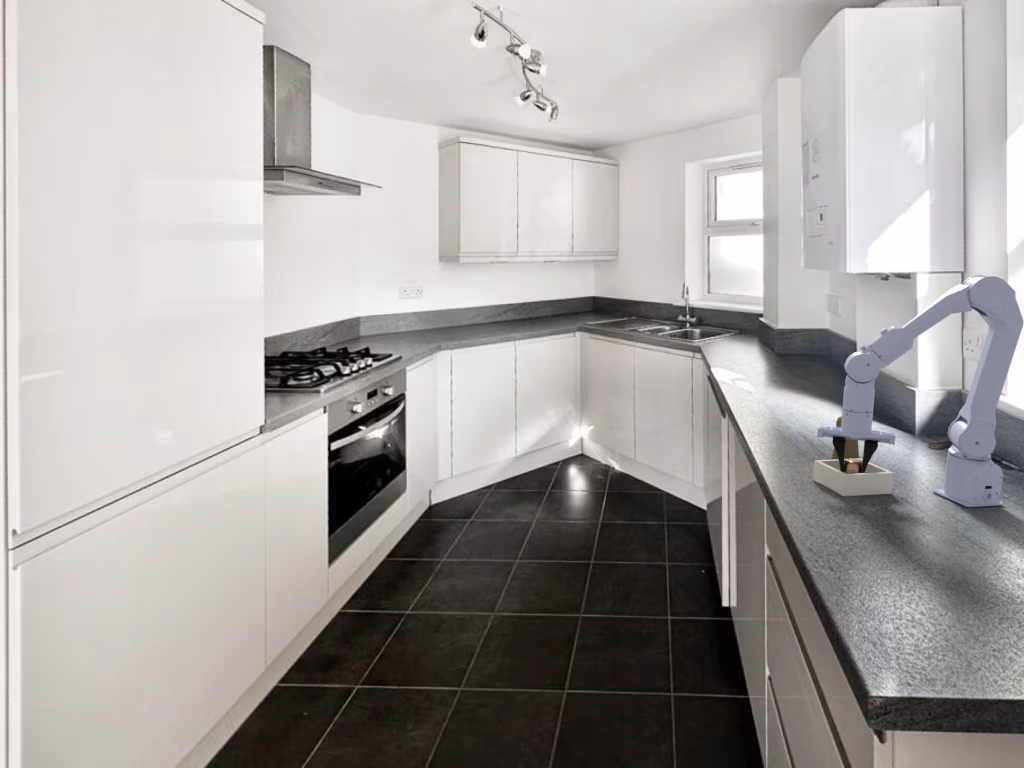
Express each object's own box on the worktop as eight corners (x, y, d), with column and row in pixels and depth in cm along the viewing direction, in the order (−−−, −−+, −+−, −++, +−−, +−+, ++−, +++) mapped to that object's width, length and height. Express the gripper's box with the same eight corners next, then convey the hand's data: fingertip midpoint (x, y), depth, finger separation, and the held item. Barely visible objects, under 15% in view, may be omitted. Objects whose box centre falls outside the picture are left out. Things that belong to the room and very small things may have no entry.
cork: (835, 456, 170) (838, 412, 168) (862, 461, 167) (866, 416, 165) (828, 462, 166) (831, 417, 164) (855, 467, 162) (859, 420, 160)
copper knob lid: (885, 490, 144) (887, 466, 143) (844, 492, 143) (846, 468, 142) (857, 476, 153) (859, 454, 152) (818, 478, 152) (820, 456, 151)
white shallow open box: (891, 493, 144) (893, 472, 143) (843, 496, 142) (844, 475, 141) (852, 474, 156) (854, 455, 155) (807, 477, 155) (809, 457, 154)
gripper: (818, 410, 145) (813, 473, 147) (898, 417, 139) (891, 483, 141) (820, 404, 151) (815, 465, 154) (896, 410, 145) (890, 473, 147)
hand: (852, 473), depth 148 cm, fingers closed on copper knob lid, 3 cm apart
